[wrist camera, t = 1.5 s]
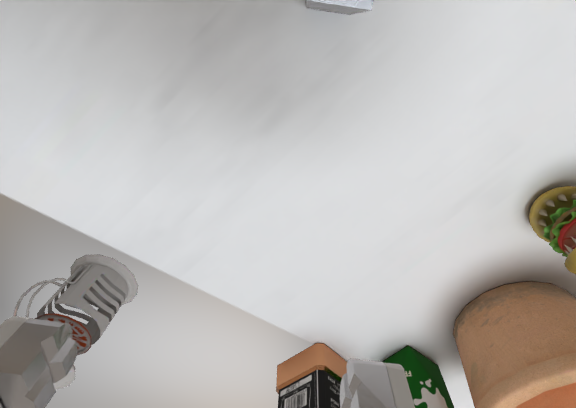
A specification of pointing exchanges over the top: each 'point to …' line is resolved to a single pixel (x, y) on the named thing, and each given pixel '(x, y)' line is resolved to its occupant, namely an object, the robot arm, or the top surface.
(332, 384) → the whiskey bottle
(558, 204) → the hamburger
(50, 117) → the top surface
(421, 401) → the milk carton
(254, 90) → the top surface
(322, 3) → the gray rectangular block
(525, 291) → the pottery
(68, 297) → the french press
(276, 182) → the top surface
